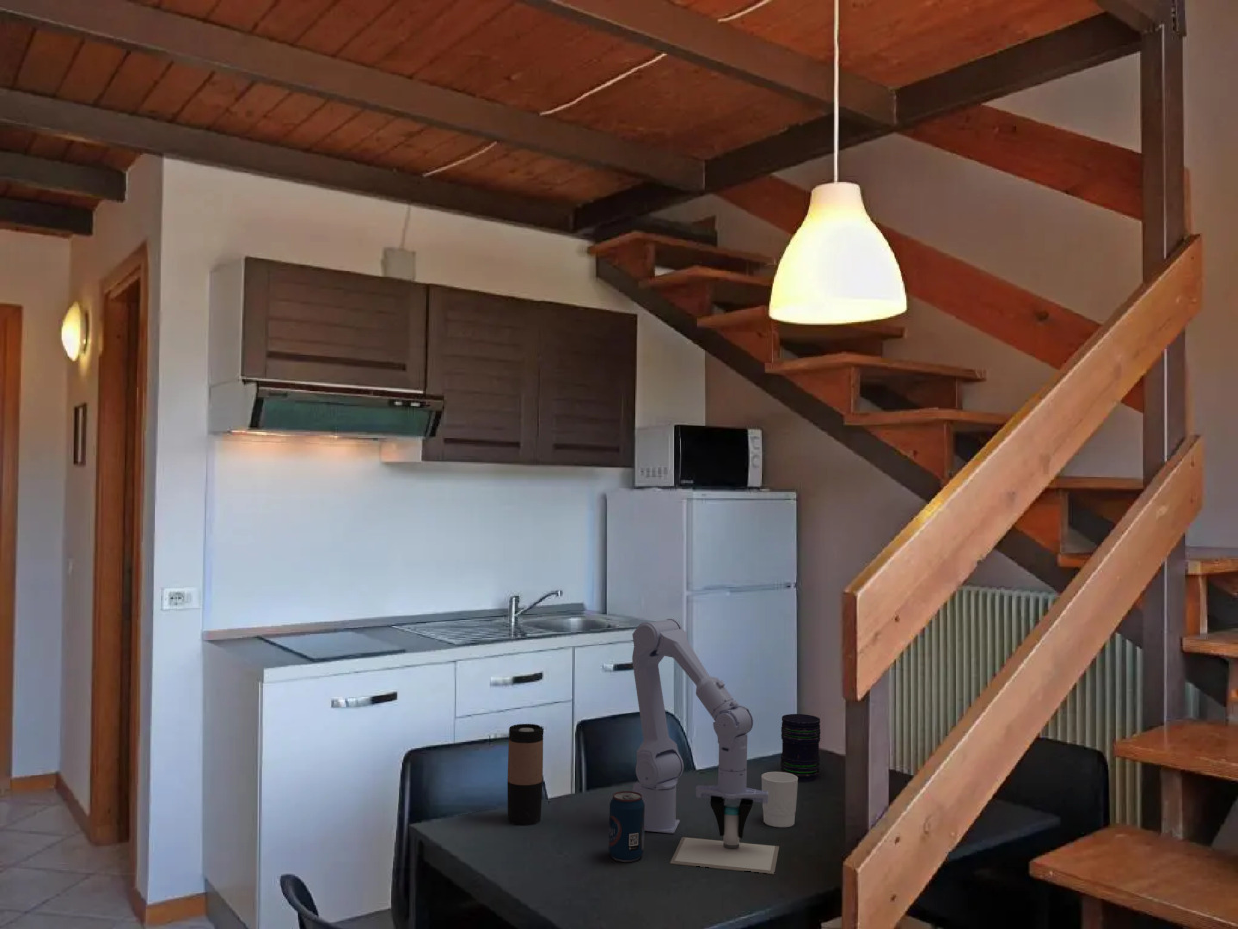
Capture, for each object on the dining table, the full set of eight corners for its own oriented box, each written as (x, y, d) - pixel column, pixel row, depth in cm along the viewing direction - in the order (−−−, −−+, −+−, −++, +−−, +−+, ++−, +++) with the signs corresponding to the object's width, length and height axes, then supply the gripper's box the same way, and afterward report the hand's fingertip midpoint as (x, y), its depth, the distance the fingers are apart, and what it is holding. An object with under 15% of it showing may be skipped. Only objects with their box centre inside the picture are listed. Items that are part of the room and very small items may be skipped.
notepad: (669, 864, 193) (669, 861, 193) (682, 838, 208) (682, 836, 208) (774, 874, 189) (774, 872, 189) (779, 847, 203) (779, 845, 203)
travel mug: (500, 823, 215) (502, 729, 215) (516, 812, 222) (518, 722, 222) (531, 828, 212) (533, 733, 212) (547, 817, 219) (549, 726, 220)
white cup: (796, 830, 214) (797, 783, 214) (759, 827, 216) (760, 780, 216) (797, 818, 222) (798, 773, 222) (761, 815, 223) (762, 770, 224)
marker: (722, 848, 201) (723, 808, 201) (723, 843, 204) (724, 803, 204) (738, 850, 200) (739, 810, 200) (740, 844, 203) (740, 805, 204)
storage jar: (780, 781, 250) (781, 721, 250) (780, 770, 260) (781, 713, 260) (820, 784, 248) (821, 723, 249) (819, 773, 258) (820, 715, 258)
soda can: (603, 852, 198) (604, 792, 199) (635, 848, 201) (636, 788, 201) (616, 865, 192) (618, 802, 192) (649, 860, 195) (650, 798, 195)
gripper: (694, 770, 200) (693, 838, 200) (767, 776, 197) (765, 845, 197) (699, 761, 207) (697, 827, 207) (769, 766, 204) (768, 833, 203)
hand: (731, 835), depth 202 cm, fingers closed on marker, 3 cm apart
